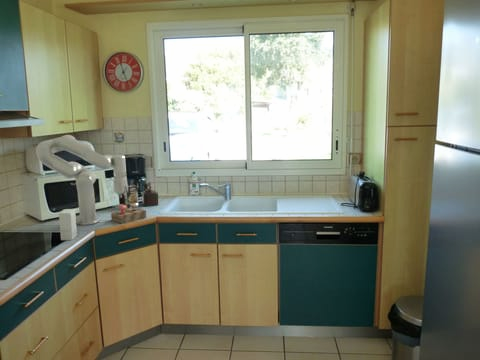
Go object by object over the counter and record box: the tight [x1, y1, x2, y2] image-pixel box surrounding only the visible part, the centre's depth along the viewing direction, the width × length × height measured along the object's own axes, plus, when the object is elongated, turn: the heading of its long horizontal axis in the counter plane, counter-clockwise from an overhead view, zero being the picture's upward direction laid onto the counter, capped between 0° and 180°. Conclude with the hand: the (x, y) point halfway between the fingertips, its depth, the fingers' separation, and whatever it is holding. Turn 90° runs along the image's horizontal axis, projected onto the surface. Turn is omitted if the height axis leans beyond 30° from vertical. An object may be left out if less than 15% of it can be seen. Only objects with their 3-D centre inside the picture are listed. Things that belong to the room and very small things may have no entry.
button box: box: [110, 207, 147, 225], centre depth 258 cm, size 18×12×5 cm, turn 137°
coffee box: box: [122, 184, 139, 210], centre depth 286 cm, size 9×6×16 cm
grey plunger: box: [131, 202, 139, 211], centre depth 260 cm, size 5×5×5 cm
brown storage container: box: [141, 182, 159, 207], centre depth 293 cm, size 16×11×18 cm
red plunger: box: [117, 204, 126, 214], centre depth 254 cm, size 5×5×5 cm
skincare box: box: [58, 208, 78, 241], centre depth 220 cm, size 8×7×16 cm
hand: (122, 203), depth 253 cm, fingers closed
